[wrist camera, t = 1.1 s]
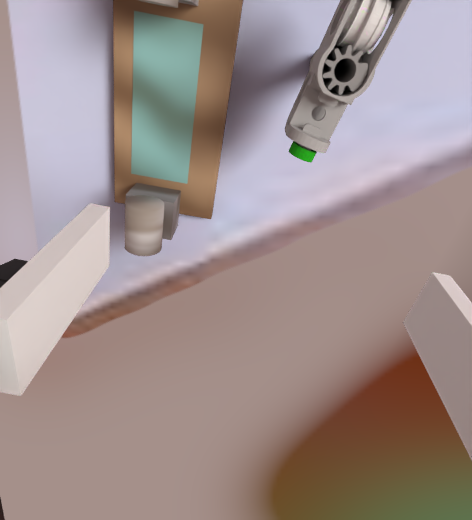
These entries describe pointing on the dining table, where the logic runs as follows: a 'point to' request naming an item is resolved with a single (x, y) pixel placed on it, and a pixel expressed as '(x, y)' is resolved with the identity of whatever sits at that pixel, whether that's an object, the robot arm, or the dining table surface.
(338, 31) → the mechanical component
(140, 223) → the mint panel frame
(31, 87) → the dining table surface
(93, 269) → the robot arm
